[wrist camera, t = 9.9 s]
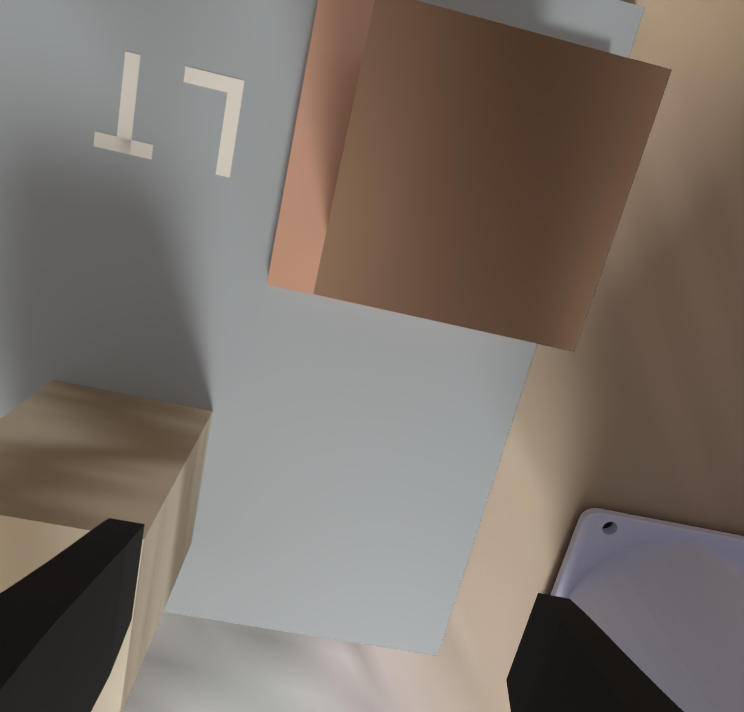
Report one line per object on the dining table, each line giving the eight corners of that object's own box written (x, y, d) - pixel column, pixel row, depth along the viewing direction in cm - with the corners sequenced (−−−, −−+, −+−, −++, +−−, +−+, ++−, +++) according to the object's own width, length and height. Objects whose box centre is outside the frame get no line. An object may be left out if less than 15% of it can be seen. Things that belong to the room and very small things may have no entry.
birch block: (212, 411, 20) (143, 539, 13) (191, 543, 21) (118, 719, 15) (52, 379, 20) (-104, 497, 13) (41, 517, 21) (-104, 686, 14)
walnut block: (546, 102, 17) (671, 70, 10) (493, 280, 18) (574, 351, 12) (367, 55, 17) (377, -11, 10) (327, 242, 18) (313, 293, 11)
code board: (635, 12, 17) (645, 7, 17) (435, 644, 24) (437, 656, 23) (2, -161, 16) (-12, -174, 15) (-29, 567, 22) (-40, 579, 22)
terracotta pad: (608, 62, 17) (615, 59, 17) (523, 336, 20) (527, 340, 19) (322, -14, 16) (321, -19, 16) (268, 281, 19) (267, 284, 18)
